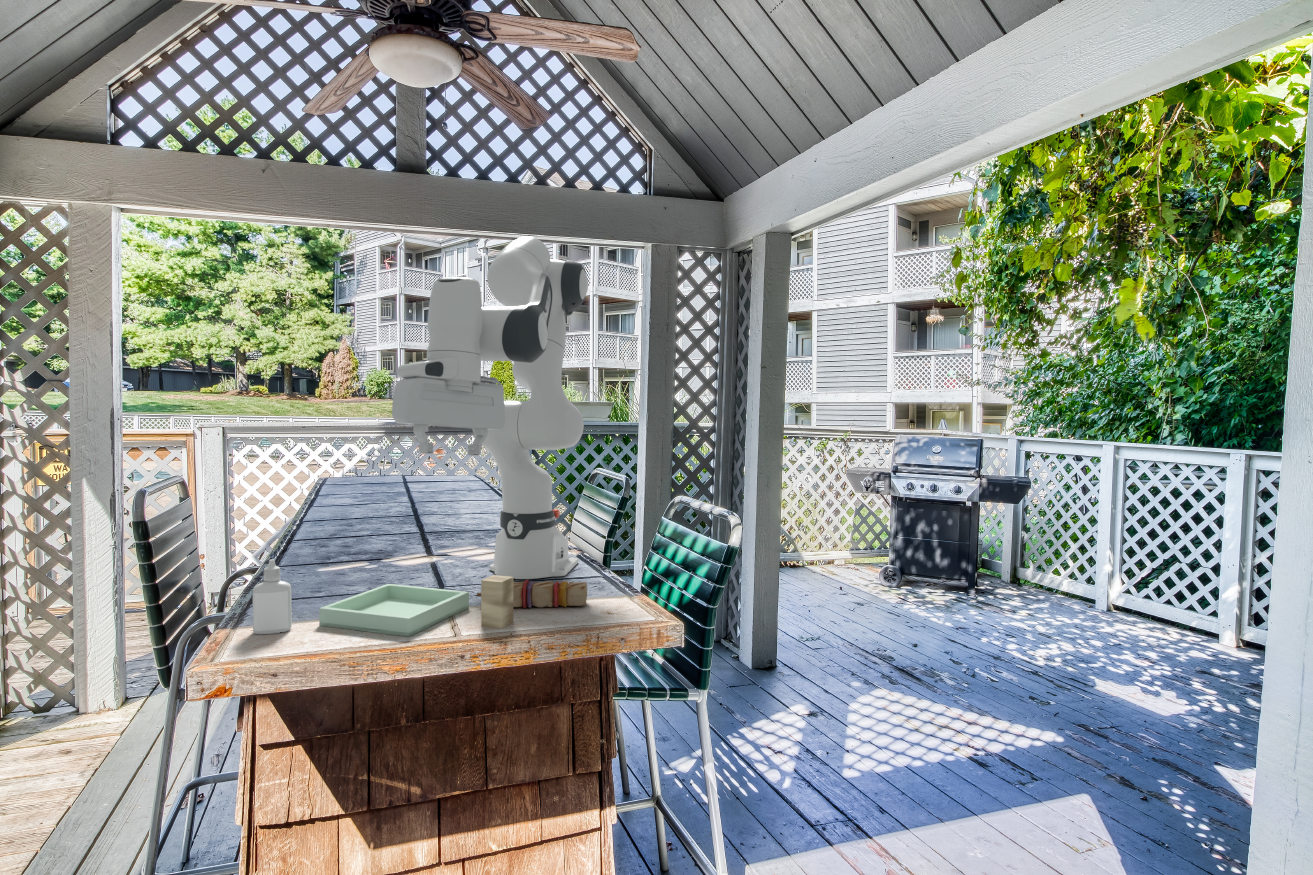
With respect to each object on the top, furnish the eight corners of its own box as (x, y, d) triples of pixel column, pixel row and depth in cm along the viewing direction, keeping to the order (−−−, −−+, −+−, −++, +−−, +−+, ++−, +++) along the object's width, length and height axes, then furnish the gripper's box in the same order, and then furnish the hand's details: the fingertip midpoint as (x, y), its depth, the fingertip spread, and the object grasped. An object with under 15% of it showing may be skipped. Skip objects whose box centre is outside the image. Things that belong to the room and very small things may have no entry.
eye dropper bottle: (279, 636, 118) (278, 563, 117) (248, 634, 118) (247, 561, 118) (296, 628, 122) (295, 557, 121) (266, 626, 123) (265, 556, 122)
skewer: (587, 601, 141) (587, 576, 141) (586, 611, 135) (586, 584, 135) (480, 602, 140) (480, 576, 140) (473, 611, 134) (473, 585, 133)
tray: (388, 598, 141) (387, 583, 141) (468, 607, 135) (469, 591, 135) (319, 625, 124) (319, 608, 123) (409, 636, 118) (408, 618, 118)
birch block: (493, 619, 128) (493, 574, 128) (513, 621, 127) (513, 576, 127) (481, 626, 124) (481, 580, 124) (501, 628, 123) (501, 582, 123)
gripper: (491, 379, 131) (489, 456, 130) (388, 366, 115) (385, 452, 114) (514, 377, 127) (512, 456, 126) (410, 363, 111) (407, 452, 110)
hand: (450, 454), depth 120 cm, fingers open, 8 cm apart
